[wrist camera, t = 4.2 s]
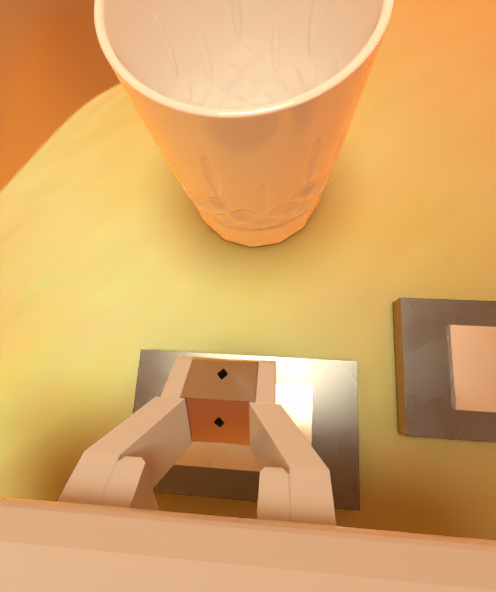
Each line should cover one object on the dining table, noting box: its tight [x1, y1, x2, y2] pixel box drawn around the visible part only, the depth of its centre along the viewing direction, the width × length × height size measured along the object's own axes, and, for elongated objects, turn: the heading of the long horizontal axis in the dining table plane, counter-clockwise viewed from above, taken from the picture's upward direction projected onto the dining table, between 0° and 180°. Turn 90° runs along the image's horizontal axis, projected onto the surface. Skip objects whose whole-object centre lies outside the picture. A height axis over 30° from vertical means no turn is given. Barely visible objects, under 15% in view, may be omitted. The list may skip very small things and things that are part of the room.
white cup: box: [94, 0, 394, 247], centre depth 14 cm, size 8×8×10 cm
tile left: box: [133, 350, 360, 511], centre depth 15 cm, size 10×6×1 cm, turn 87°
